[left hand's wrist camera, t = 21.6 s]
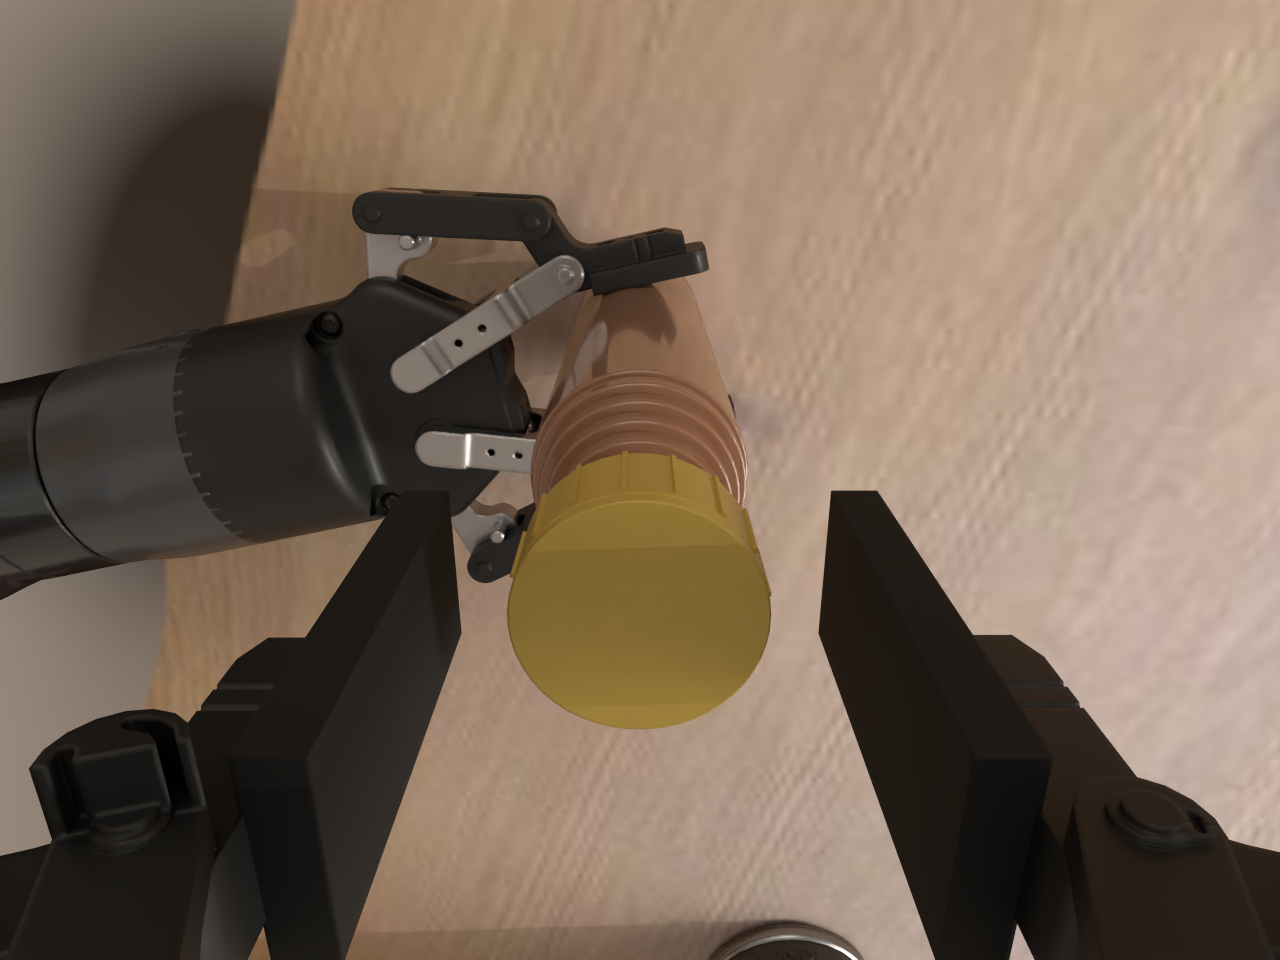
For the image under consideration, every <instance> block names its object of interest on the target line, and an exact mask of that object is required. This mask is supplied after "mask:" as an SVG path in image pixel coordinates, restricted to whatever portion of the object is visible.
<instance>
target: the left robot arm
mask: <svg viewBox="0 0 1280 960" xmlns="http://www.w3.org/2000/svg"><path fill="white" fill-rule="evenodd" d="M460 636H461V622H460V611H459V600H458V589H457V577H456V566H455V555H454V544H453V533H452V521H451V510H450V499H449V491H402V493H401V494H400V496H399V497H398V499H397V500H396V502H395V503H394V505H393V506H392V508H391V509H390V511H389V512H388V514H387V515H386V517H385V518H384V520H383V521H382V523H381V524H380V526H379V527H378V529H377V530H376V532H375V533H374V535H373V536H372V538H371V539H370V541H369V542H368V544H367V545H366V547H365V549H364V550H363V552H362V553H361V555H360V556H359V558H358V559H357V561H356V562H355V564H354V565H353V567H352V568H351V570H350V571H349V573H348V574H347V576H346V577H345V579H344V580H343V582H342V583H341V585H340V586H339V588H338V589H337V591H336V592H335V594H334V595H333V597H332V598H331V600H330V601H329V603H328V604H327V606H326V607H325V609H324V610H323V612H322V613H321V615H320V616H319V618H318V619H317V621H316V622H315V624H314V625H313V627H312V628H311V630H310V631H309V633H308V634H307V636H306V637H305V638H267V639H266V640H264V641H263V642H261V643H260V644H259V645H257V646H256V647H254V648H253V649H251V650H250V651H248V652H247V653H245V654H244V655H242V656H241V657H239V658H238V659H236V661H235V662H234V663H233V665H232V666H231V667H230V669H229V670H228V671H227V673H226V674H225V675H224V676H223V678H222V679H221V680H220V682H219V683H218V684H217V690H213V691H212V692H211V693H210V695H209V696H208V697H207V699H206V700H205V701H204V702H203V704H202V705H201V711H197V712H196V713H195V714H194V716H193V717H192V718H191V719H190V721H189V722H188V723H187V722H186V721H185V720H183V719H182V718H181V717H179V716H178V715H177V714H176V713H171V712H166V711H161V710H156V709H148V710H134V711H125V712H121V713H117V714H114V715H110V716H106V717H103V718H99V719H95V720H93V721H91V722H89V723H87V724H85V725H83V726H80V727H78V728H76V729H74V730H72V731H70V732H67V733H66V734H65V735H63V736H62V737H60V738H59V739H58V740H56V741H55V742H54V743H52V744H51V745H49V746H48V747H47V748H45V749H44V750H43V751H42V752H41V754H40V755H39V756H38V757H37V759H36V760H35V761H34V763H33V764H32V765H31V766H30V768H29V771H30V774H31V777H32V780H33V783H34V786H35V789H36V792H37V795H38V798H39V801H40V804H41V807H42V810H43V813H44V816H45V819H46V822H47V825H48V829H49V832H50V835H51V838H52V841H51V843H50V844H47V845H44V846H40V847H37V848H33V849H29V850H24V851H20V852H16V853H11V854H7V855H2V856H0V960H248V958H249V955H250V953H251V951H252V949H253V947H254V945H255V943H256V941H257V939H258V937H259V934H260V932H261V930H262V928H263V926H264V930H265V935H266V940H267V944H268V949H269V953H270V958H271V960H345V957H346V955H347V952H348V949H349V946H350V943H351V941H352V938H353V935H354V932H355V929H356V927H357V924H358V921H359V918H360V916H361V913H362V910H363V907H364V904H365V902H366V899H367V896H368V893H369V890H370V888H371V885H372V882H373V879H374V876H375V874H376V871H377V868H378V865H379V862H380V860H381V857H382V854H383V851H384V848H385V846H386V843H387V840H388V837H389V834H390V832H391V829H392V826H393V823H394V820H395V818H396V815H397V812H398V809H399V806H400V804H401V801H402V798H403V795H404V792H405V790H406V787H407V784H408V781H409V778H410V776H411V773H412V770H413V767H414V764H415V762H416V759H417V756H418V753H419V750H420V748H421V745H422V742H423V739H424V736H425V734H426V731H427V728H428V725H429V722H430V720H431V717H432V714H433V711H434V708H435V706H436V703H437V700H438V697H439V694H440V692H441V689H442V686H443V683H444V681H445V678H446V675H447V672H448V669H449V667H450V664H451V661H452V658H453V655H454V653H455V650H456V647H457V644H458V641H459V639H460ZM819 636H820V639H821V641H822V644H823V647H824V650H825V653H826V655H827V658H828V661H829V664H830V667H831V669H832V672H833V675H834V678H835V681H836V683H837V686H838V689H839V692H840V695H841V697H842V700H843V703H844V706H845V708H846V711H847V714H848V717H849V720H850V722H851V725H852V728H853V731H854V734H855V736H856V739H857V742H858V745H859V748H860V750H861V753H862V756H863V759H864V762H865V764H866V767H867V770H868V773H869V776H870V778H871V781H872V784H873V787H874V790H875V792H876V795H877V798H878V801H879V804H880V806H881V809H882V812H883V815H884V818H885V820H886V823H887V826H888V829H889V832H890V834H891V837H892V840H893V843H894V846H895V848H896V851H897V854H898V857H899V860H900V862H901V865H902V868H903V871H904V874H905V876H906V879H907V882H908V885H909V888H910V890H911V893H912V896H913V899H914V902H915V904H916V907H917V910H918V913H919V916H920V918H921V921H922V924H923V927H924V930H925V932H926V935H927V938H928V941H929V943H930V946H931V949H932V952H933V955H934V957H935V960H1009V958H1010V953H1011V949H1012V944H1013V940H1014V935H1015V930H1016V926H1017V924H1018V926H1019V928H1020V930H1021V932H1022V934H1023V936H1024V939H1025V941H1026V943H1027V945H1028V947H1029V949H1030V951H1031V953H1032V955H1033V957H1034V959H1035V960H1280V852H1276V851H1272V850H1267V849H1263V848H1258V847H1254V846H1249V845H1245V844H1242V843H1239V842H1235V841H1232V840H1229V839H1228V837H1227V836H1226V834H1225V833H1224V831H1223V830H1222V828H1221V827H1220V825H1219V824H1218V822H1217V821H1216V819H1215V818H1214V817H1213V816H1211V815H1210V814H1209V813H1208V812H1206V811H1205V810H1204V809H1203V808H1202V807H1200V806H1199V805H1198V804H1197V803H1196V802H1194V801H1193V800H1192V799H1190V798H1188V797H1186V796H1184V795H1182V794H1180V793H1178V792H1176V791H1174V790H1172V789H1171V788H1169V787H1167V786H1165V785H1161V784H1158V783H1155V782H1151V781H1148V780H1145V779H1142V778H1138V777H1137V776H1136V775H1135V774H1134V773H1133V771H1132V770H1131V769H1130V767H1129V766H1128V765H1127V764H1126V762H1125V761H1124V760H1123V758H1122V757H1121V756H1120V754H1119V753H1118V752H1117V751H1116V749H1115V748H1114V747H1113V745H1112V744H1111V743H1110V741H1109V740H1108V739H1107V738H1106V736H1105V735H1104V734H1103V732H1102V731H1101V730H1100V729H1099V727H1098V726H1097V725H1096V723H1095V722H1094V721H1093V719H1092V718H1091V717H1090V716H1089V714H1088V713H1087V712H1086V710H1085V709H1084V708H1080V706H1079V701H1078V700H1077V699H1076V697H1075V696H1074V695H1073V694H1072V692H1071V691H1070V690H1069V688H1068V687H1064V685H1063V681H1062V679H1061V678H1060V677H1059V675H1058V674H1057V673H1056V672H1055V670H1054V669H1053V668H1052V666H1051V665H1050V664H1049V663H1048V661H1047V660H1046V659H1045V657H1044V656H1042V655H1041V654H1039V653H1038V652H1036V651H1035V650H1033V649H1032V648H1030V647H1029V646H1027V645H1026V644H1024V643H1023V642H1022V641H1020V640H1019V639H1017V638H1016V637H1014V636H1013V635H973V634H972V633H971V631H970V630H969V628H968V627H967V625H966V624H965V622H964V621H963V619H962V618H961V616H960V615H959V613H958V612H957V610H956V609H955V607H954V606H953V604H952V603H951V601H950V600H949V598H948V597H947V595H946V594H945V592H944V591H943V589H942V588H941V586H940V585H939V583H938V582H937V580H936V579H935V577H934V576H933V574H932V573H931V571H930V570H929V568H928V567H927V565H926V564H925V562H924V561H923V559H922V558H921V556H920V555H919V553H918V552H917V550H916V549H915V547H914V546H913V544H912V542H911V541H910V539H909V538H908V536H907V535H906V533H905V532H904V530H903V529H902V527H901V526H900V524H899V523H898V521H897V520H896V518H895V517H894V515H893V514H892V512H891V511H890V509H889V508H888V506H887V505H886V503H885V502H884V500H883V499H882V497H881V496H880V494H879V493H878V491H831V499H830V510H829V521H828V533H827V544H826V555H825V566H824V577H823V589H822V600H821V611H820V622H819Z"/></svg>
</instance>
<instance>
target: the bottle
mask: <svg viewBox="0 0 1280 960" xmlns="http://www.w3.org/2000/svg"><path fill="white" fill-rule="evenodd" d="M623 451H628V454H629V453H651V454H658V455H660V454H661V455H665V456H669V457H671V455H676V458H677V459H680V460H682V461H685V462H687V463H690V464H692V465H694V466H697V467H698V468H700V469H702V470H703V471H705V472H707V473H708V474H710V475H711V476H712V477H713V476H714V475H716V476H718V477H719V481H720V483H721V484H722V485H723V486H724V487H725V488H726V489H727V490H728V491H729V492H730V493H731V494H732V495H733V497H734V498H735V499H736V501H737V502H738V503H739V505H740V506H741V508H743V504H744V501H745V494H746V486H747V479H748V462H747V455H746V449H745V446H744V442H743V439H742V436H741V433H740V430H739V427H738V424H737V421H736V418H735V415H734V412H733V409H732V406H731V403H730V400H729V397H728V394H727V391H726V388H725V385H724V382H723V379H722V376H721V374H720V371H719V368H718V365H717V362H716V359H715V356H714V353H713V350H712V347H711V344H710V341H709V338H708V335H707V332H706V329H705V326H704V323H703V320H702V317H701V314H700V311H699V308H698V305H697V302H696V299H695V296H694V294H693V291H692V289H691V287H690V285H689V284H688V282H687V281H686V279H685V278H684V277H680V278H675V279H671V280H666V281H662V282H657V283H652V284H648V285H643V286H639V287H634V288H629V289H624V290H620V291H616V292H612V293H607V294H603V295H598V296H594V295H593V291H592V289H589V290H587V291H586V293H585V296H584V299H583V302H582V305H581V308H580V311H579V314H578V317H577V320H576V323H575V326H574V329H573V332H572V335H571V338H570V341H569V343H568V346H567V349H566V352H565V355H564V358H563V361H562V364H561V367H560V370H559V373H558V376H557V379H556V382H555V385H554V388H553V391H552V394H551V397H550V400H549V403H548V406H547V408H546V411H545V414H544V417H543V420H542V423H541V426H540V429H539V432H538V435H537V438H536V441H535V444H534V447H533V453H532V458H531V482H532V489H533V498H534V502H535V506H536V509H537V507H538V506H539V502H540V499H541V495H542V494H543V493H545V494H548V492H549V491H550V490H551V489H552V488H553V487H554V486H555V485H556V484H557V483H558V482H560V481H561V480H562V479H563V478H565V477H566V476H567V475H569V474H570V473H572V472H573V471H575V470H576V466H578V465H580V464H581V465H582V466H584V465H586V464H588V463H591V462H594V461H596V460H599V459H602V458H606V457H610V456H614V455H618V454H622V452H623Z"/></svg>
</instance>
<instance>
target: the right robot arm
mask: <svg viewBox="0 0 1280 960" xmlns="http://www.w3.org/2000/svg"><path fill="white" fill-rule="evenodd" d="M352 214H353V218H354V221H355V222H356V224H357V225H358V227H359V228H360V229H362V230H363V231H365V239H366V254H367V269H368V279H367V280H365V281H363V282H361V283H360V284H359V285H358V286H357V287H356V288H355V289H354V290H353V291H352V292H351V293H350V294H349V295H348V296H346V297H344V298H341V299H338V300H334V301H330V302H326V303H321V304H317V305H312V306H308V307H303V308H299V309H294V310H290V311H285V312H281V313H277V314H272V315H268V316H263V317H259V318H254V319H250V320H245V321H241V322H236V323H232V324H228V325H223V326H219V327H214V328H210V329H207V330H202V329H195V330H187V331H181V332H177V333H173V334H171V336H169V337H167V338H165V339H161V340H157V341H153V342H148V343H144V344H140V345H137V346H133V347H129V348H126V349H123V350H120V351H118V352H115V353H112V354H110V355H107V356H105V357H102V358H100V359H98V360H95V361H92V362H89V363H87V364H83V365H80V366H76V367H73V368H70V369H65V370H61V371H56V372H52V373H47V374H43V375H38V376H34V377H29V378H25V379H21V380H16V381H12V382H7V383H1V384H0V600H2V599H4V598H6V597H8V596H10V595H12V594H14V593H16V592H18V591H19V590H21V589H23V588H25V587H27V586H29V585H31V584H34V583H36V582H38V581H40V580H43V579H50V578H55V577H60V576H66V575H70V574H75V573H80V572H85V571H90V570H95V569H99V568H105V567H109V566H114V565H119V564H124V563H129V562H135V561H142V560H152V559H172V558H184V557H193V556H199V555H206V554H211V553H216V552H221V551H226V550H231V549H236V548H241V547H246V546H251V545H256V544H261V543H266V542H271V541H275V540H280V539H285V538H290V537H295V536H300V535H305V534H310V533H315V532H320V531H325V530H330V529H335V528H340V527H344V526H349V525H354V524H359V523H364V522H369V521H374V520H378V519H382V518H385V517H386V515H387V514H388V512H389V511H390V509H391V508H392V506H393V505H394V503H395V502H396V500H397V499H398V497H399V496H400V494H401V493H402V491H449V499H450V510H451V521H452V526H453V527H454V529H455V530H456V532H457V533H458V535H459V536H460V538H461V539H462V541H463V543H464V544H465V546H466V547H467V549H468V550H469V552H470V553H471V556H470V559H469V561H468V565H467V569H468V572H469V574H470V576H471V577H472V578H473V579H474V580H476V581H478V582H482V583H489V582H493V581H495V580H497V579H499V578H501V577H503V576H505V575H508V574H510V573H511V571H512V567H513V564H514V560H515V557H516V553H517V550H518V547H519V543H520V540H521V536H522V533H523V531H526V532H527V529H528V526H529V524H530V521H531V519H532V516H533V514H534V512H535V511H536V506H535V502H534V503H532V504H530V505H528V506H526V507H524V508H522V509H520V510H517V509H516V508H515V507H514V506H512V505H510V504H506V503H500V504H496V505H492V506H487V505H483V504H481V503H479V502H478V501H477V500H476V498H477V497H478V495H479V494H480V493H481V492H482V491H483V490H484V489H485V488H486V487H487V485H488V484H489V483H490V482H491V481H492V480H493V479H494V478H495V476H496V475H497V474H498V473H499V472H500V471H508V472H518V473H527V474H531V458H532V453H533V447H534V444H535V441H536V438H537V435H538V432H539V429H540V426H541V423H542V420H543V417H544V414H545V411H546V409H540V408H531V407H530V403H529V400H528V396H527V392H526V390H525V389H524V387H523V385H522V384H521V382H520V380H519V378H518V377H517V375H516V373H515V361H514V345H513V342H512V338H511V334H512V333H513V332H515V331H516V330H518V329H519V328H521V327H522V326H524V325H525V324H526V323H527V322H529V321H530V320H531V319H533V318H534V317H536V316H537V315H539V314H541V313H542V312H544V311H546V310H547V309H549V308H550V307H552V306H554V305H555V304H557V303H558V302H560V301H562V300H563V299H565V298H567V297H568V296H570V295H571V294H573V293H576V292H580V291H585V290H589V289H592V291H593V295H594V296H598V295H603V294H607V293H612V292H616V291H620V290H624V289H629V288H634V287H639V286H643V285H648V284H652V283H657V282H662V281H666V280H671V279H675V278H680V277H684V276H689V275H693V274H697V273H701V272H704V271H707V270H708V269H709V265H708V260H707V254H706V249H705V246H704V244H703V242H693V243H688V244H685V242H684V237H683V233H682V231H681V230H676V229H671V228H660V229H656V230H652V231H648V232H643V233H638V234H635V235H629V236H625V237H621V238H616V239H612V240H607V241H603V242H598V243H593V244H586V243H582V242H580V241H578V240H576V239H575V238H574V237H573V236H572V235H571V234H570V233H569V232H568V230H567V228H566V227H565V225H564V224H563V222H562V221H561V219H560V218H559V216H558V214H557V209H556V207H555V205H554V203H553V202H552V201H551V200H550V199H549V198H547V197H545V196H542V195H527V194H507V193H487V192H467V191H447V190H427V189H407V188H386V189H380V190H376V191H371V192H368V193H364V194H361V195H360V196H359V197H358V198H357V199H356V200H355V202H354V204H353V207H352ZM438 237H445V238H465V239H485V240H506V241H523V243H524V244H525V246H526V247H527V249H528V250H529V252H530V254H531V255H532V257H533V258H534V260H535V261H536V263H537V264H536V265H534V266H532V267H531V268H529V269H528V270H526V271H524V272H523V273H521V274H520V275H518V276H515V277H514V278H512V279H510V280H509V281H507V282H505V283H504V284H502V285H501V286H499V287H498V288H496V289H494V290H493V291H491V292H490V293H488V294H486V295H485V296H483V297H482V298H480V299H479V300H477V301H475V302H474V303H469V302H467V301H464V300H462V299H460V298H457V297H455V296H453V295H450V294H448V293H446V292H443V291H441V290H439V289H436V288H434V287H432V286H429V285H427V284H424V283H422V282H420V281H417V280H415V279H413V278H410V277H408V276H406V275H404V268H405V265H406V264H407V262H408V261H409V260H412V259H419V258H421V257H423V256H425V255H427V254H429V253H430V252H431V251H433V249H434V248H435V246H436V244H437V238H438ZM728 397H729V400H730V403H731V406H732V409H733V412H734V415H735V410H734V405H733V402H732V399H731V397H730V395H728ZM735 418H736V415H735ZM529 424H530V425H532V426H531V427H530V426H529ZM518 452H520V453H522V454H519V453H518ZM710 960H864V959H863V957H862V956H861V954H860V953H859V952H858V950H857V949H856V948H855V947H854V946H853V945H852V944H851V943H849V942H848V941H847V940H845V939H844V938H842V937H841V936H839V935H837V934H835V933H833V932H830V931H828V930H825V929H822V928H818V927H815V926H809V925H802V924H778V925H770V926H765V927H761V928H757V929H754V930H751V931H748V932H746V933H743V934H741V935H739V936H737V937H735V938H734V939H732V940H730V941H729V942H727V943H726V944H725V945H723V946H722V947H721V948H720V949H719V950H718V951H717V952H716V953H715V954H714V955H713V956H712V957H711V959H710Z"/></svg>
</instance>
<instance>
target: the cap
mask: <svg viewBox="0 0 1280 960" xmlns="http://www.w3.org/2000/svg"><path fill="white" fill-rule="evenodd" d="M510 577H511V578H514V579H513V582H512V586H511V590H510V594H509V600H508V609H507V616H508V629H509V634H510V639H511V643H512V645H513V648H514V651H515V654H516V656H517V658H518V660H519V662H520V664H521V666H522V668H523V669H524V671H525V672H526V674H527V675H528V676H529V678H530V679H531V681H532V682H533V683H534V684H535V685H536V686H537V687H538V688H539V689H540V690H541V691H542V692H543V693H544V694H545V695H546V696H547V697H549V698H550V699H551V700H552V701H553V702H555V703H556V704H558V705H559V706H561V707H562V708H564V709H565V710H567V711H569V712H571V713H573V714H575V715H577V716H579V717H581V718H584V719H586V720H589V721H592V722H595V723H598V724H602V725H607V726H611V727H617V728H625V729H652V728H662V727H667V726H672V725H677V724H680V723H683V722H686V721H689V720H692V719H695V718H697V717H699V716H701V715H703V714H706V713H708V712H709V711H711V710H713V709H714V708H716V707H718V706H719V705H721V704H722V703H723V702H725V701H726V700H727V699H729V698H730V697H731V696H732V695H734V694H735V693H736V692H737V691H738V690H739V689H740V688H741V687H742V686H743V685H744V683H745V682H746V681H747V679H748V678H749V677H750V675H751V674H752V673H753V671H754V670H755V668H756V666H757V664H758V663H759V661H760V659H761V657H762V654H763V652H764V649H765V647H766V644H767V640H768V636H769V631H770V622H771V606H770V596H771V590H770V587H769V583H768V580H767V576H766V573H765V569H764V566H763V562H762V559H761V555H760V552H759V549H758V547H757V543H756V540H755V536H754V533H753V529H752V526H751V522H750V519H749V515H748V512H747V510H746V508H744V509H742V508H741V506H740V505H739V503H738V502H737V501H736V499H735V498H734V497H733V495H732V494H731V493H730V492H729V491H728V490H727V489H726V488H725V487H724V486H723V485H722V484H721V483H720V481H719V477H718V476H716V475H714V476H713V477H712V476H711V475H710V474H708V473H707V472H705V471H703V470H702V469H700V468H698V467H697V466H694V465H692V464H690V463H687V462H685V461H682V460H680V459H677V458H676V455H671V457H669V456H665V455H661V454H660V455H658V454H651V453H629V454H628V451H623V452H622V454H618V455H614V456H610V457H606V458H602V459H599V460H596V461H594V462H591V463H588V464H586V465H584V466H582V465H581V464H580V465H578V466H576V470H575V471H573V472H572V473H570V474H569V475H567V476H566V477H565V478H563V479H562V480H561V481H560V482H558V483H557V484H556V485H555V486H554V487H553V488H552V489H551V490H550V491H549V492H548V494H545V493H543V494H542V495H541V499H540V502H539V506H538V507H537V509H536V511H535V512H534V514H533V516H532V519H531V521H530V524H529V526H528V529H527V532H526V531H523V533H522V536H521V540H520V543H519V547H518V550H517V553H516V557H515V560H514V564H513V567H512V571H511V574H510Z"/></svg>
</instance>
